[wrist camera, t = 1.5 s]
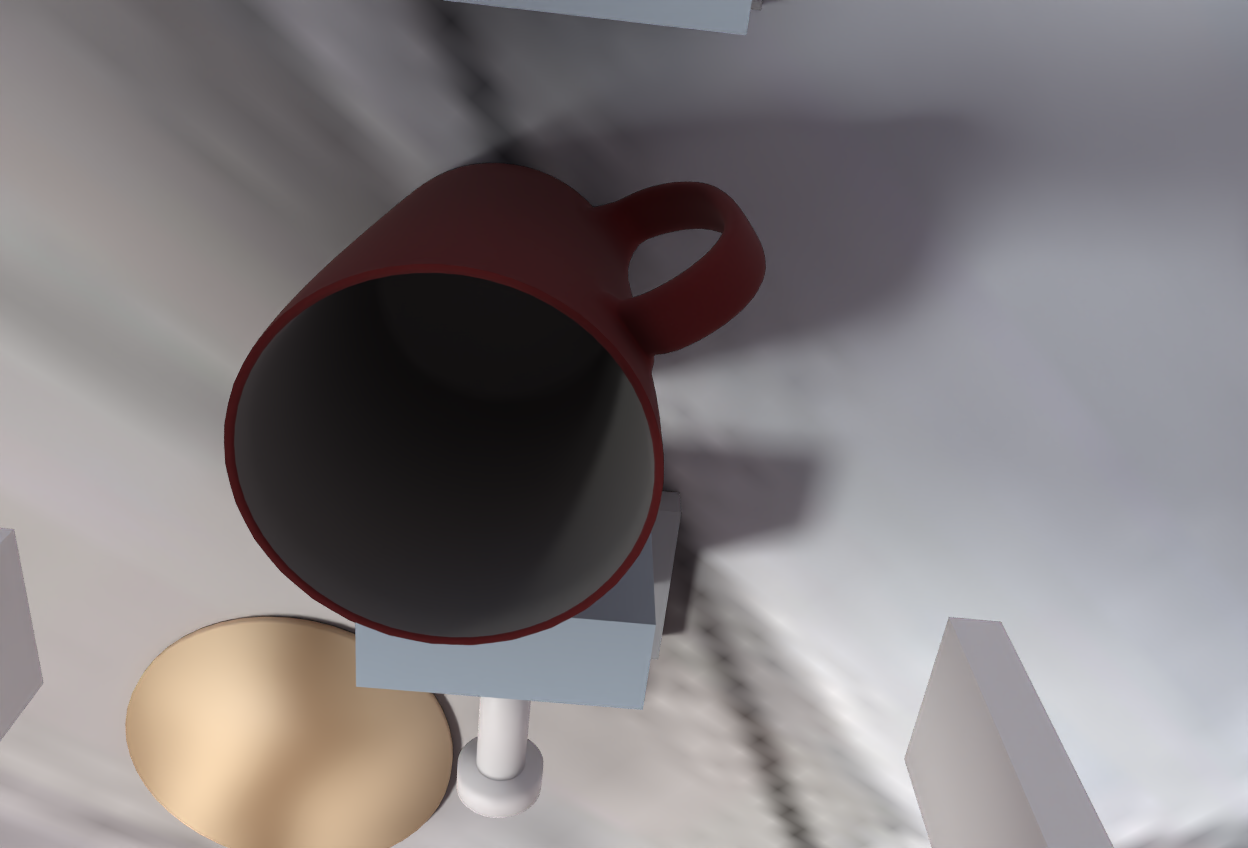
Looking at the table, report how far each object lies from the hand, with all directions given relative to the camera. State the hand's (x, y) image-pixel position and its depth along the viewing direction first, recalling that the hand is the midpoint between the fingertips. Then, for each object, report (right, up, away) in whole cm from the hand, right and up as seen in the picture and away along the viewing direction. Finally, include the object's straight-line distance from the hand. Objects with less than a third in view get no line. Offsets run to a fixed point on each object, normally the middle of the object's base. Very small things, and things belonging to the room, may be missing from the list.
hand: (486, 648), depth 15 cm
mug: (0, +8, +16) cm, 18 cm away
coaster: (-10, -9, +24) cm, 28 cm away
